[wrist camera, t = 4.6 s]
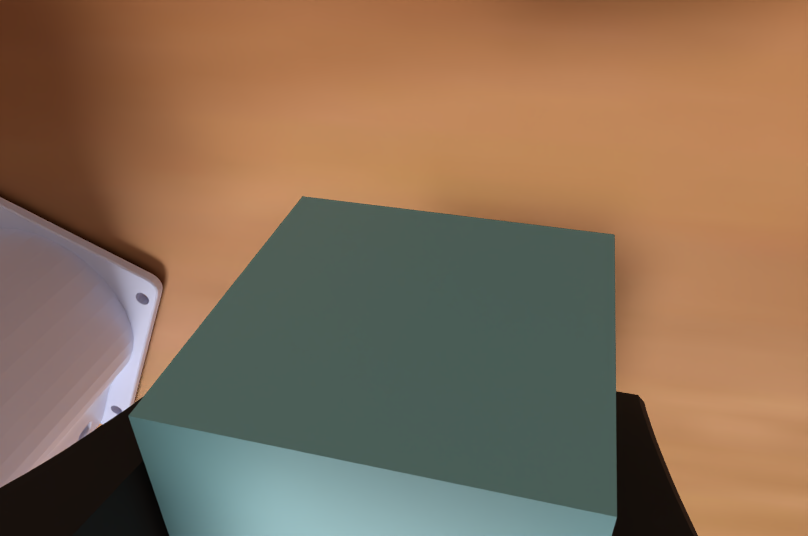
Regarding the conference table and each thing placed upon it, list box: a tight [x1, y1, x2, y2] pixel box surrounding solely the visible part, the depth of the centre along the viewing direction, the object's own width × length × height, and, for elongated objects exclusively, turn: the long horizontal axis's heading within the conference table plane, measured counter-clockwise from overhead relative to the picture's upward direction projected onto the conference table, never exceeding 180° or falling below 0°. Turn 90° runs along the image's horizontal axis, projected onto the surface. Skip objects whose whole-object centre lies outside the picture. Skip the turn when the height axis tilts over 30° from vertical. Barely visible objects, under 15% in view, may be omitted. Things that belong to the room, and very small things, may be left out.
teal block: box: [128, 196, 617, 536], centre depth 10 cm, size 5×5×5 cm
